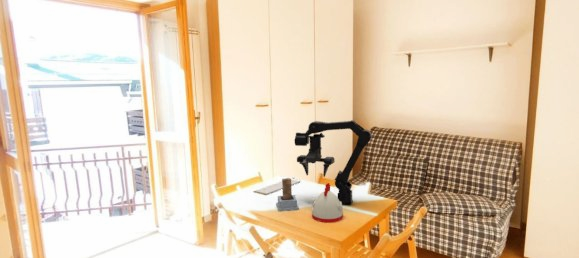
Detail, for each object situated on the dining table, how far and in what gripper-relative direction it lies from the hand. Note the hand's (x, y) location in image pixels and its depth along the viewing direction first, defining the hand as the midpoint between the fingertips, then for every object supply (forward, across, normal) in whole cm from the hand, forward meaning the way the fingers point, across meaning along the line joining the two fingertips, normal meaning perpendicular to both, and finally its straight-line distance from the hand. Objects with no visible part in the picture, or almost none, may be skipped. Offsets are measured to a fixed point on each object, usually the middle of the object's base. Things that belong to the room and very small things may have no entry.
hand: (315, 176), depth 167 cm
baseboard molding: (+14, -31, +16) cm, 37 cm away
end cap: (+13, -10, -14) cm, 22 cm away
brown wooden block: (+12, -10, -14) cm, 21 cm away
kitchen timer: (+13, +12, -19) cm, 26 cm away
